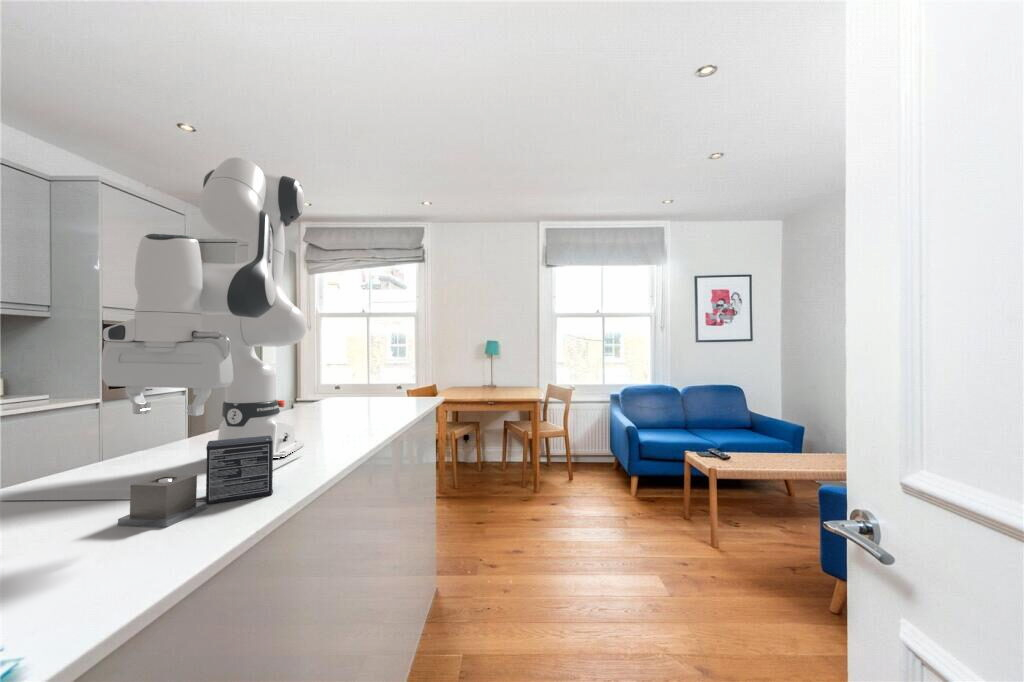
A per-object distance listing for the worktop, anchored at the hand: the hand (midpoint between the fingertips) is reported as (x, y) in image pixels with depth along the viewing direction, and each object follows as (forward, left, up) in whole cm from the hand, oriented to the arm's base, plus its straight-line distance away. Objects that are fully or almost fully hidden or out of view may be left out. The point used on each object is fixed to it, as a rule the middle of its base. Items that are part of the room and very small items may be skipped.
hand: (168, 414), depth 71 cm
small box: (-11, +5, -17) cm, 21 cm away
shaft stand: (0, 0, -17) cm, 17 cm away
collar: (0, 0, -16) cm, 16 cm away
